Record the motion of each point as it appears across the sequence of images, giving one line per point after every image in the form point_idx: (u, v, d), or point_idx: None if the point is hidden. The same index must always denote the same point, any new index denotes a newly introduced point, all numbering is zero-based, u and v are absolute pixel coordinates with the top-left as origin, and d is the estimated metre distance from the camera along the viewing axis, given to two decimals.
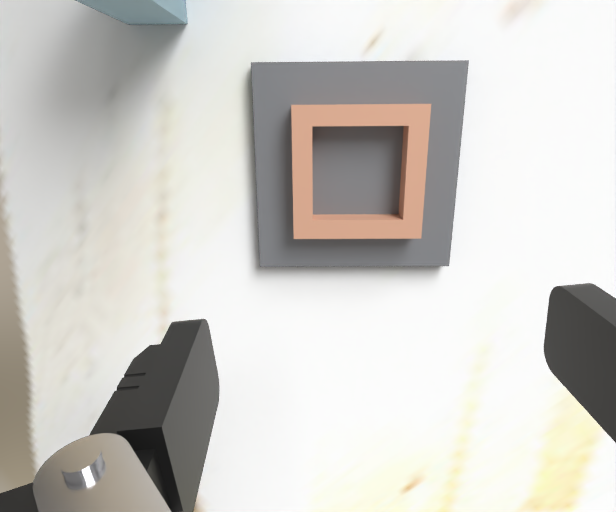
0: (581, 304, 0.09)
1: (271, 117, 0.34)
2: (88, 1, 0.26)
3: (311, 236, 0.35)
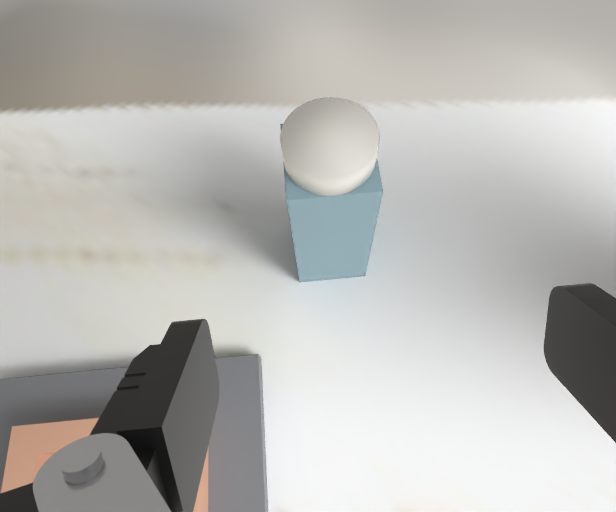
0: (581, 304, 0.09)
1: None
2: None
3: (10, 454, 0.23)
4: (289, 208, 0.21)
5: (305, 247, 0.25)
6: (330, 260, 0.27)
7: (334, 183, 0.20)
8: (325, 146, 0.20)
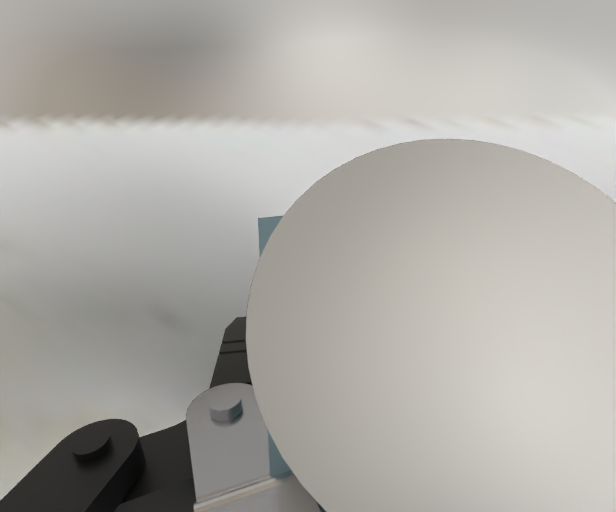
0: None
1: None
2: None
3: None
4: None
5: None
6: None
7: None
8: (454, 378, 0.04)
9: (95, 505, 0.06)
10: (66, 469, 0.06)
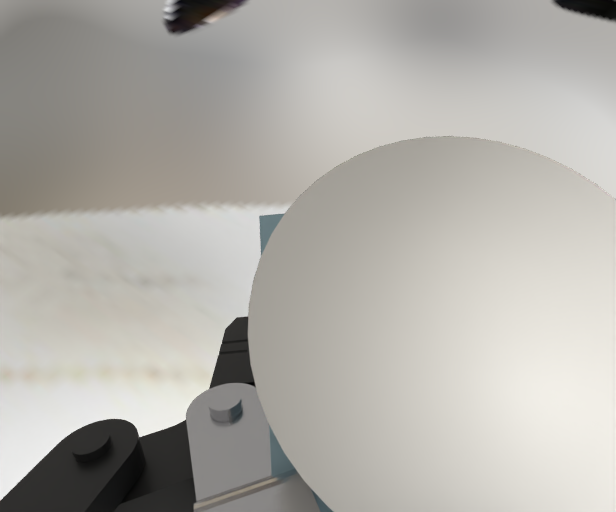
0: None
1: None
2: None
3: None
4: None
5: None
6: None
7: None
8: (456, 375, 0.04)
9: (95, 505, 0.06)
10: (66, 469, 0.06)
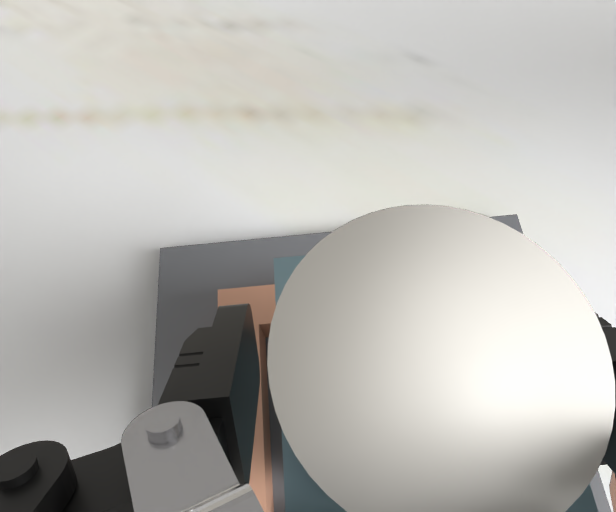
0: None
1: None
2: None
3: None
4: None
5: None
6: None
7: None
8: (424, 397, 0.06)
9: None
10: None
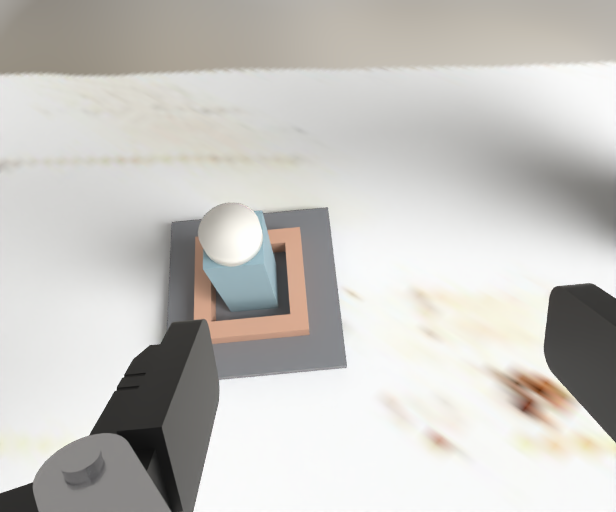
0: (581, 304, 0.09)
1: (290, 222, 0.45)
2: None
3: (197, 250, 0.42)
4: (206, 272, 0.33)
5: (226, 292, 0.37)
6: (247, 299, 0.39)
7: (230, 260, 0.31)
8: (225, 237, 0.31)
9: None
10: None
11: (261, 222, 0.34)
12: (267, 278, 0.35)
